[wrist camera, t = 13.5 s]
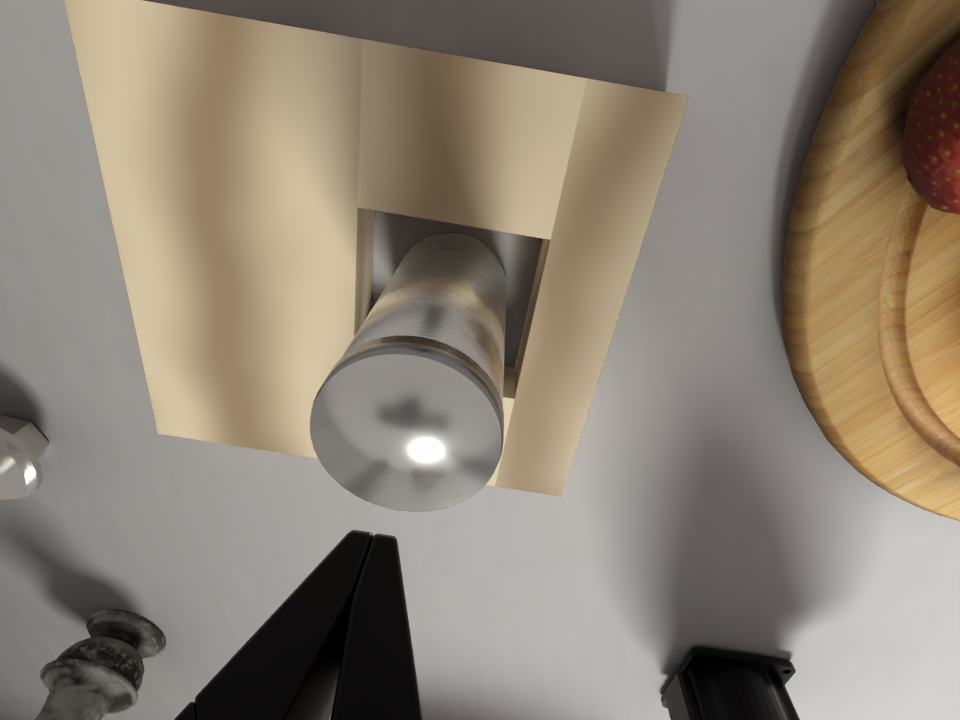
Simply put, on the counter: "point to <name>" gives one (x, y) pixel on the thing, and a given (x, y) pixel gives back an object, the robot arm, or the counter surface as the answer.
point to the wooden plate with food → (884, 257)
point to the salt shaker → (101, 668)
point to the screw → (19, 458)
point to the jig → (352, 210)
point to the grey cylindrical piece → (421, 383)
